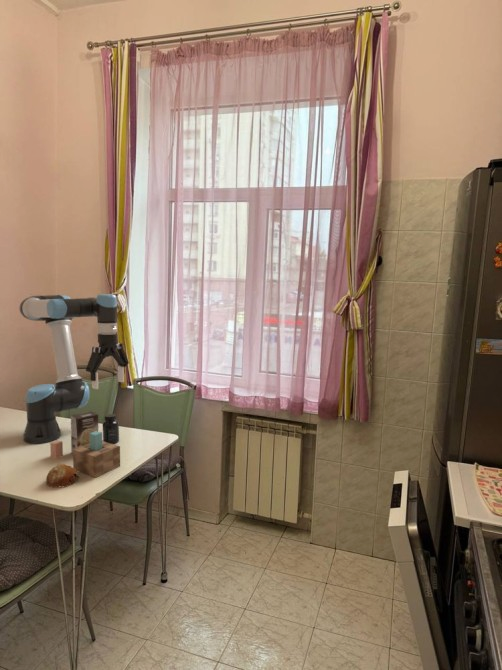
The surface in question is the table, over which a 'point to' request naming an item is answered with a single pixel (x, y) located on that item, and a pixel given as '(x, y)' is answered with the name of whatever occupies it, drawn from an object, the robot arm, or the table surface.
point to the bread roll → (61, 475)
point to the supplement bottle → (110, 429)
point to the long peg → (95, 440)
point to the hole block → (96, 459)
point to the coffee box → (82, 428)
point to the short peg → (56, 449)
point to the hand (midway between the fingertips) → (108, 385)
